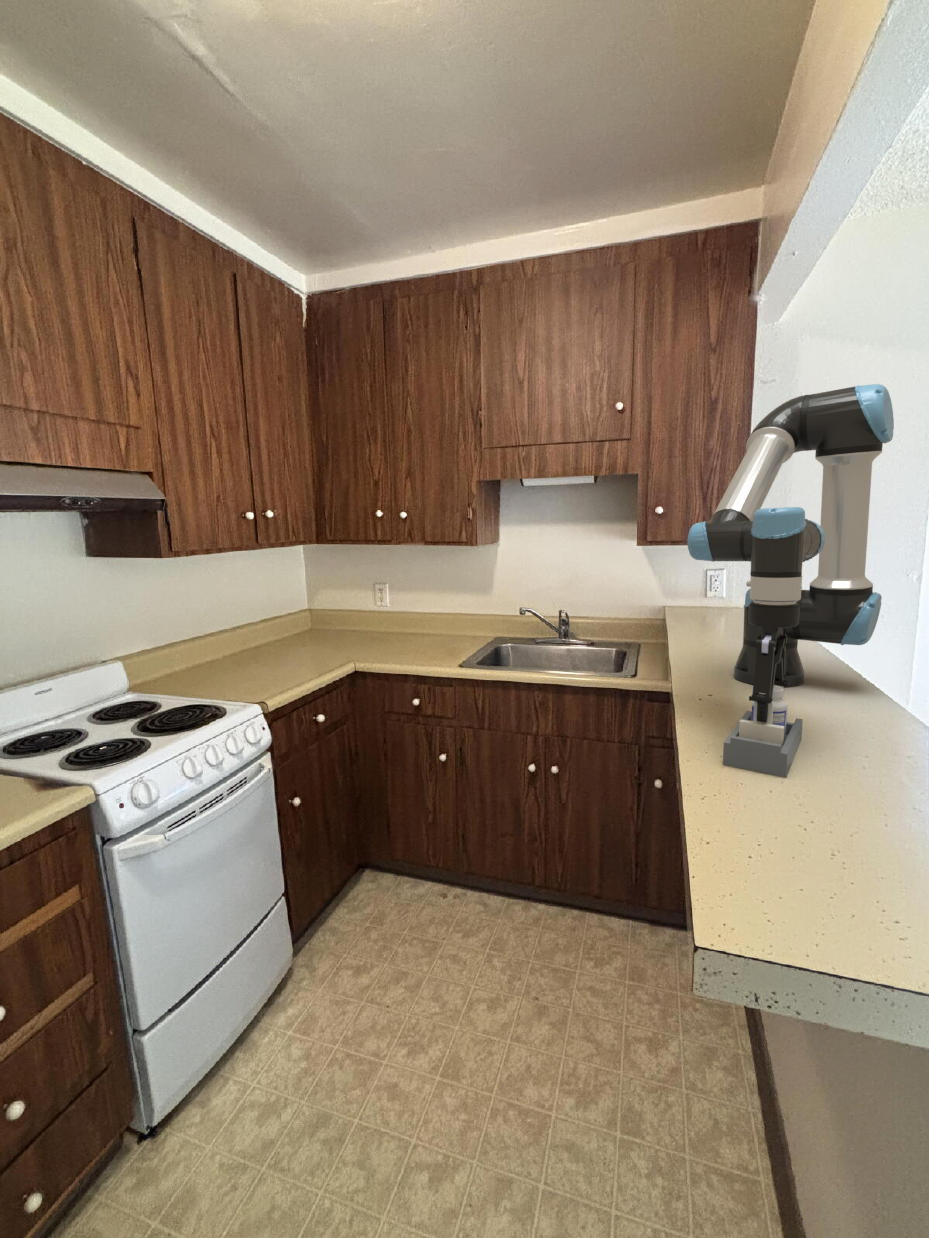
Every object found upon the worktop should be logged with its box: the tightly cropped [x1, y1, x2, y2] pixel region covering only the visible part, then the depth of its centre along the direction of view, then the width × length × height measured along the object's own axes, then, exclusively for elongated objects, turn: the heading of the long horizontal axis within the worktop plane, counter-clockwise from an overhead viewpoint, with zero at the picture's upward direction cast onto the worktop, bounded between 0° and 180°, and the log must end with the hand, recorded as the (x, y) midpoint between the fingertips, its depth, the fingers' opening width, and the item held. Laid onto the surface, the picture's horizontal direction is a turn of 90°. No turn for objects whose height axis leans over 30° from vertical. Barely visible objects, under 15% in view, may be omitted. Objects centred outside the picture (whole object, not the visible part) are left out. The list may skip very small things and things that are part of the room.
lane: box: [722, 710, 804, 778], centre depth 95 cm, size 18×9×5 cm, turn 143°
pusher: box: [738, 718, 784, 749], centre depth 91 cm, size 5×6×5 cm
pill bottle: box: [751, 685, 788, 743], centre depth 97 cm, size 5×5×10 cm
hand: (767, 729), depth 97 cm, fingers open, 10 cm apart
